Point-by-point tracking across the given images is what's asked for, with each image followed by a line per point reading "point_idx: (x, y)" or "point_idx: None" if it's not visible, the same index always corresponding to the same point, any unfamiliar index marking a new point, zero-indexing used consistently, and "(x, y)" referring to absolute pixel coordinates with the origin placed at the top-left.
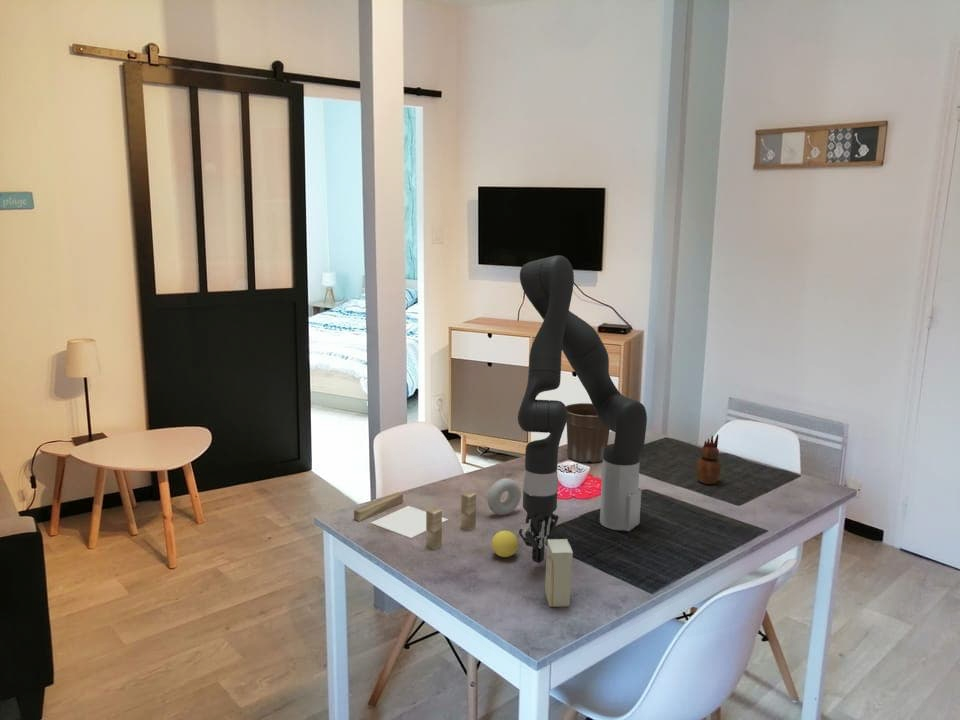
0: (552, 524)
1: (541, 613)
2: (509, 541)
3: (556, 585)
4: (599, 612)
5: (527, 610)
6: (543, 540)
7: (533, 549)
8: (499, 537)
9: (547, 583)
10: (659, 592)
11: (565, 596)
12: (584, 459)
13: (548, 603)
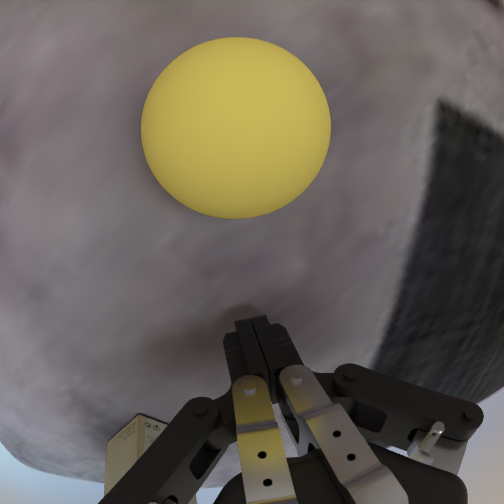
0: (401, 445)
1: (77, 440)
2: (209, 207)
3: None
4: None
5: (53, 421)
6: (288, 430)
7: (232, 380)
8: (170, 129)
9: (119, 467)
10: None
11: None
12: None
13: (111, 440)
